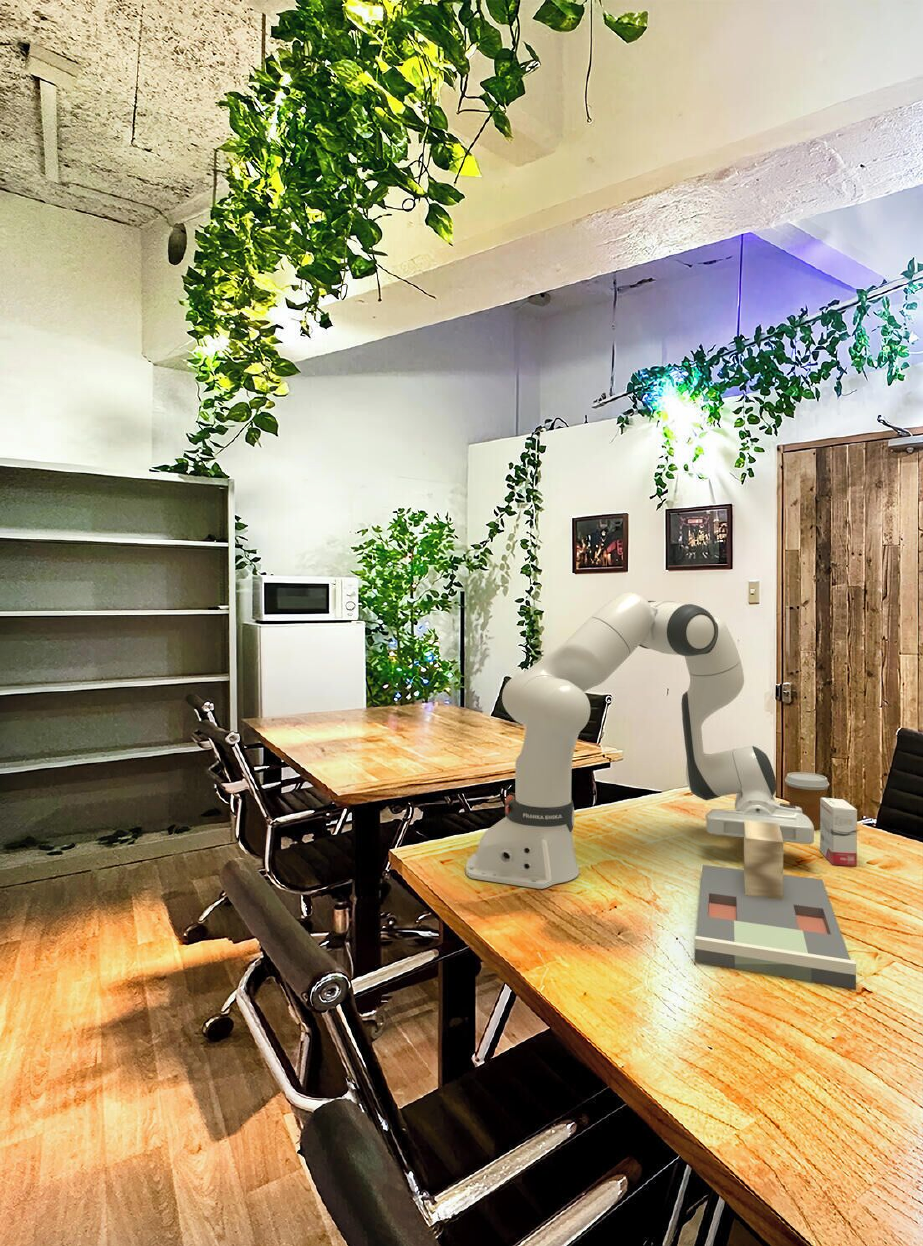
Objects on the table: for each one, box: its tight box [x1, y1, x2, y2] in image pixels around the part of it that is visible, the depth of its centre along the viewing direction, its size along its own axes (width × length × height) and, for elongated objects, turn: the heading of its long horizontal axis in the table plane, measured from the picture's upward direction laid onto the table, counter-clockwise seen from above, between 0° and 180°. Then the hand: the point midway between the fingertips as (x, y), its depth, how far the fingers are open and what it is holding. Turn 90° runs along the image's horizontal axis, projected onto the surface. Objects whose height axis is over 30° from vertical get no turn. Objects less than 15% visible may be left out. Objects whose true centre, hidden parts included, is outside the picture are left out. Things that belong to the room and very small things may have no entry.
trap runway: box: [694, 864, 857, 990], centre depth 116 cm, size 21×36×4 cm, turn 159°
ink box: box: [819, 797, 858, 867], centre depth 146 cm, size 9×5×12 cm, turn 168°
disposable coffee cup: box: [784, 771, 830, 831], centre depth 167 cm, size 10×10×12 cm
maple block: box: [743, 820, 784, 900], centre depth 127 cm, size 6×11×10 cm, turn 159°
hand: (760, 838), depth 137 cm, fingers closed
